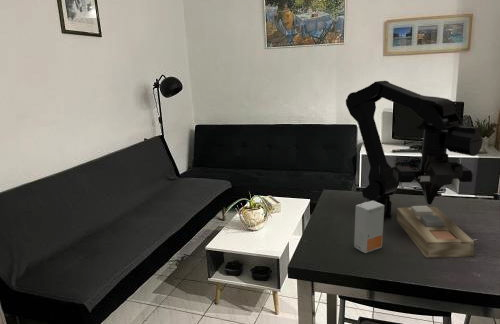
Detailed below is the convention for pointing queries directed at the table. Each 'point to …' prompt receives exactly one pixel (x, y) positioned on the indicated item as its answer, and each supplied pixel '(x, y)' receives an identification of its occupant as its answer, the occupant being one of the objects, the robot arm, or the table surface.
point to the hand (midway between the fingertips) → (428, 203)
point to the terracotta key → (443, 235)
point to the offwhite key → (421, 210)
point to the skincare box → (369, 226)
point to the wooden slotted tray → (428, 241)
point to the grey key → (432, 221)
